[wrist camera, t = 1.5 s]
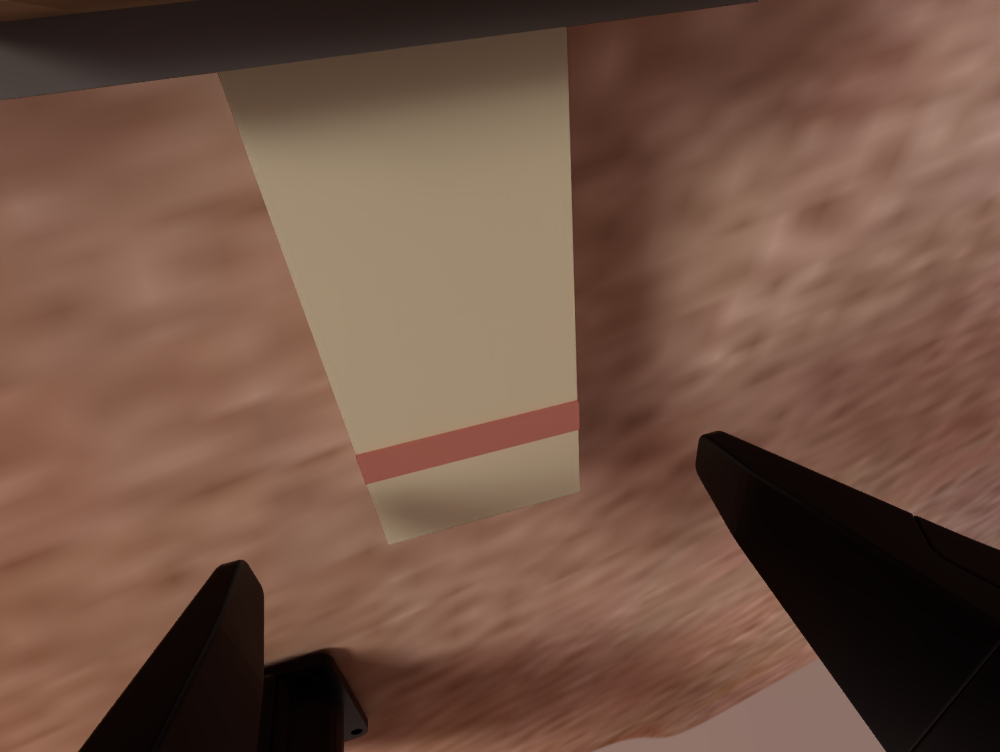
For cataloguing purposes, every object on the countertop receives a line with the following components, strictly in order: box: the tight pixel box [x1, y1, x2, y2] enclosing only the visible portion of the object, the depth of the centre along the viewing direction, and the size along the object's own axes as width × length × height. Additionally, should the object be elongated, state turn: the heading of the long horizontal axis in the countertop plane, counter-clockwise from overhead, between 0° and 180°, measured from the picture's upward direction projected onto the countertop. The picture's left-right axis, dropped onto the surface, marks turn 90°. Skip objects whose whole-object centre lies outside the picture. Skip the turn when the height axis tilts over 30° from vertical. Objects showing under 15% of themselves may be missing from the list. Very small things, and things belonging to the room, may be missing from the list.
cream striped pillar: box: [218, 27, 580, 545], centre depth 10 cm, size 14×5×4 cm, turn 6°
